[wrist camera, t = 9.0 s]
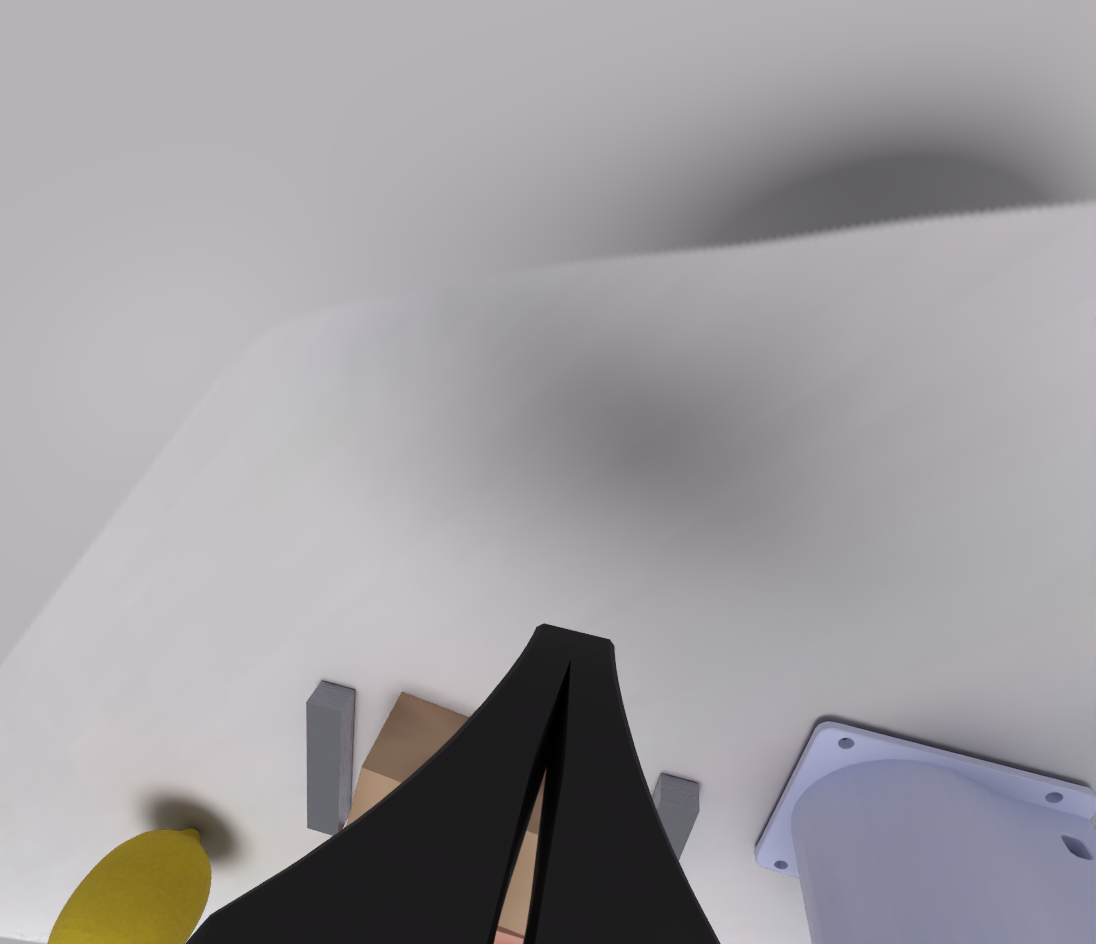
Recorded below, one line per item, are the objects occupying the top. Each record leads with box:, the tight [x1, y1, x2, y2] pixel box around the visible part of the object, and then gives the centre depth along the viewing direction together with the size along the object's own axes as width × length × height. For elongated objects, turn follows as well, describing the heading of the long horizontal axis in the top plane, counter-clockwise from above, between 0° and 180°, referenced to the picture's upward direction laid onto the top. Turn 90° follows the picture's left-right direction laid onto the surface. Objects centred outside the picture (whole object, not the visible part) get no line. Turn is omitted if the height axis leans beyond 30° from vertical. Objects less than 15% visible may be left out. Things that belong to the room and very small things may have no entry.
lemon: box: [48, 828, 211, 944], centre depth 29 cm, size 6×6×8 cm
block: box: [347, 692, 546, 936], centre depth 25 cm, size 9×6×4 cm, turn 73°
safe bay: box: [306, 681, 699, 861], centre depth 27 cm, size 16×8×1 cm, turn 81°
